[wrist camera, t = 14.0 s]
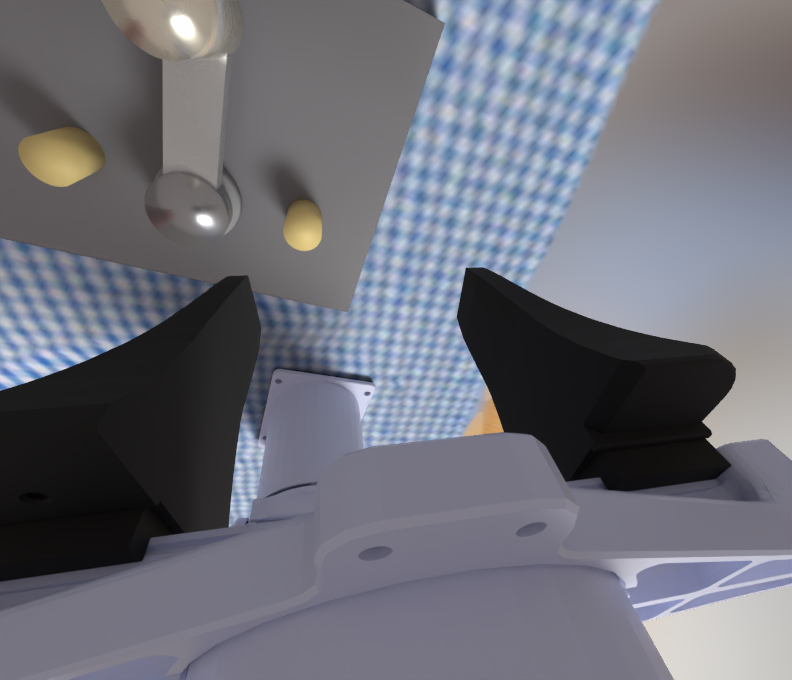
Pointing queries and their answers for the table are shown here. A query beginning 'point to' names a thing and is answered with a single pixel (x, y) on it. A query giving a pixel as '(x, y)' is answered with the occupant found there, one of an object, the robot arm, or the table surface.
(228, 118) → the base
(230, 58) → the crank
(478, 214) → the table surface
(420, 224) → the table surface
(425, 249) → the table surface
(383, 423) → the table surface
